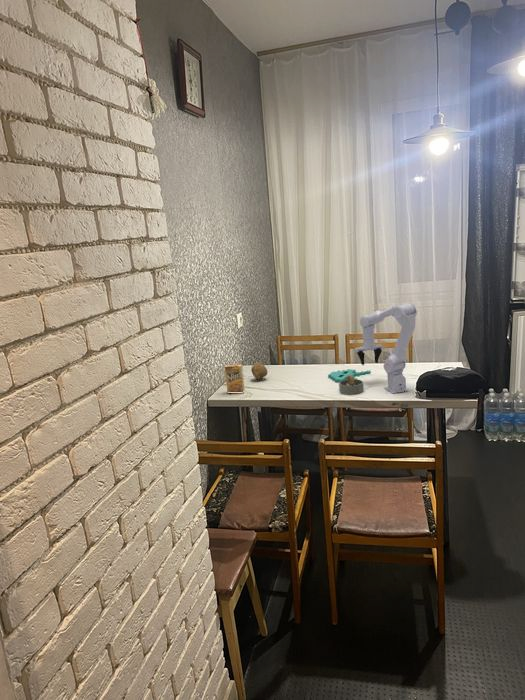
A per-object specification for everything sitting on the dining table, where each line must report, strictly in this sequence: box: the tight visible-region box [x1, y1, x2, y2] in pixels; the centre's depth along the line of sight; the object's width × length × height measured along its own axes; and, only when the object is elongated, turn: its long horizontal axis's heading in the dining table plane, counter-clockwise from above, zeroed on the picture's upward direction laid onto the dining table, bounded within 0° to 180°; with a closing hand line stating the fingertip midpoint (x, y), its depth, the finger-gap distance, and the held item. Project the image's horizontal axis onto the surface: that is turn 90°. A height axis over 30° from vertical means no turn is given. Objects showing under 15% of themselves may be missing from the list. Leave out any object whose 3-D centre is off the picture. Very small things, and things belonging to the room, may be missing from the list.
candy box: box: [224, 363, 245, 393], centre depth 264 cm, size 9×4×15 cm, turn 81°
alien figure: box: [327, 368, 372, 384], centre depth 274 cm, size 20×2×20 cm
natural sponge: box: [251, 362, 268, 380], centre depth 284 cm, size 9×9×10 cm
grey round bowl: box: [338, 378, 365, 396], centre depth 251 cm, size 12×12×4 cm
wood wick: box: [347, 375, 354, 386], centre depth 250 cm, size 4×2×7 cm, turn 13°
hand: (369, 363), depth 259 cm, fingers open, 7 cm apart
